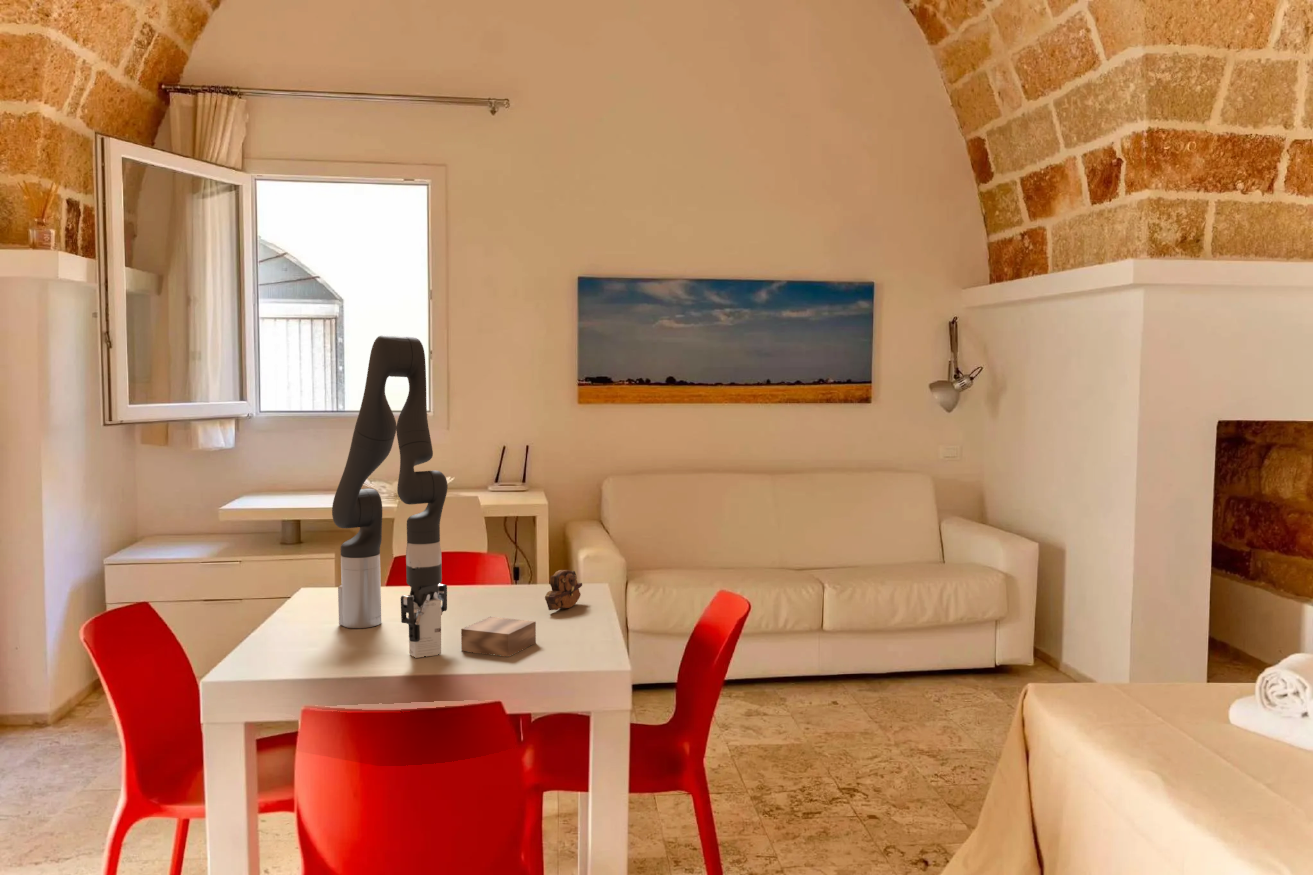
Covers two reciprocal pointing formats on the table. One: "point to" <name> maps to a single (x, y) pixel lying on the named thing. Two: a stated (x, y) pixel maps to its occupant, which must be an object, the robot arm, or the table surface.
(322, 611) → the table surface
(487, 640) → the walnut block
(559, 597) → the wooden carving
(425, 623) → the skincare box
